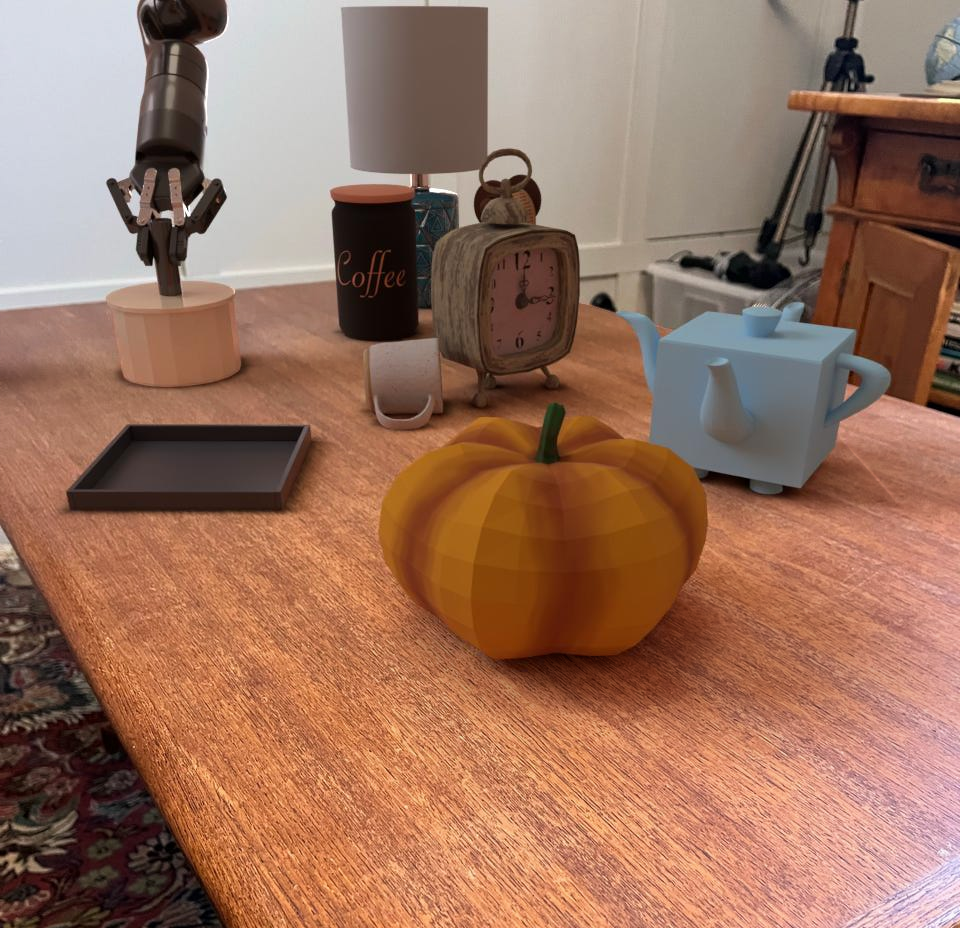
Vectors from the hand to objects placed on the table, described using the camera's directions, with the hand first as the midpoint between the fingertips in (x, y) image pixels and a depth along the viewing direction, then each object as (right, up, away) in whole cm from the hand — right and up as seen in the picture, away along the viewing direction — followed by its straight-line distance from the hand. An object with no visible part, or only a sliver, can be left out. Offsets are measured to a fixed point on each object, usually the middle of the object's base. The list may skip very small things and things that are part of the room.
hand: (160, 261), depth 113 cm
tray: (+10, -27, -20) cm, 35 cm away
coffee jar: (+22, -1, +24) cm, 33 cm away
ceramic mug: (+28, -19, -5) cm, 34 cm away
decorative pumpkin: (+40, -41, -42) cm, 71 cm away
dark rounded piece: (+39, -4, +20) cm, 44 cm away
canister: (0, -10, +9) cm, 13 cm away
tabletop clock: (+38, -14, +2) cm, 41 cm away
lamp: (+27, +8, +39) cm, 49 cm away
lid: (0, -3, +4) cm, 5 cm away
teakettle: (+59, -26, -18) cm, 67 cm away
